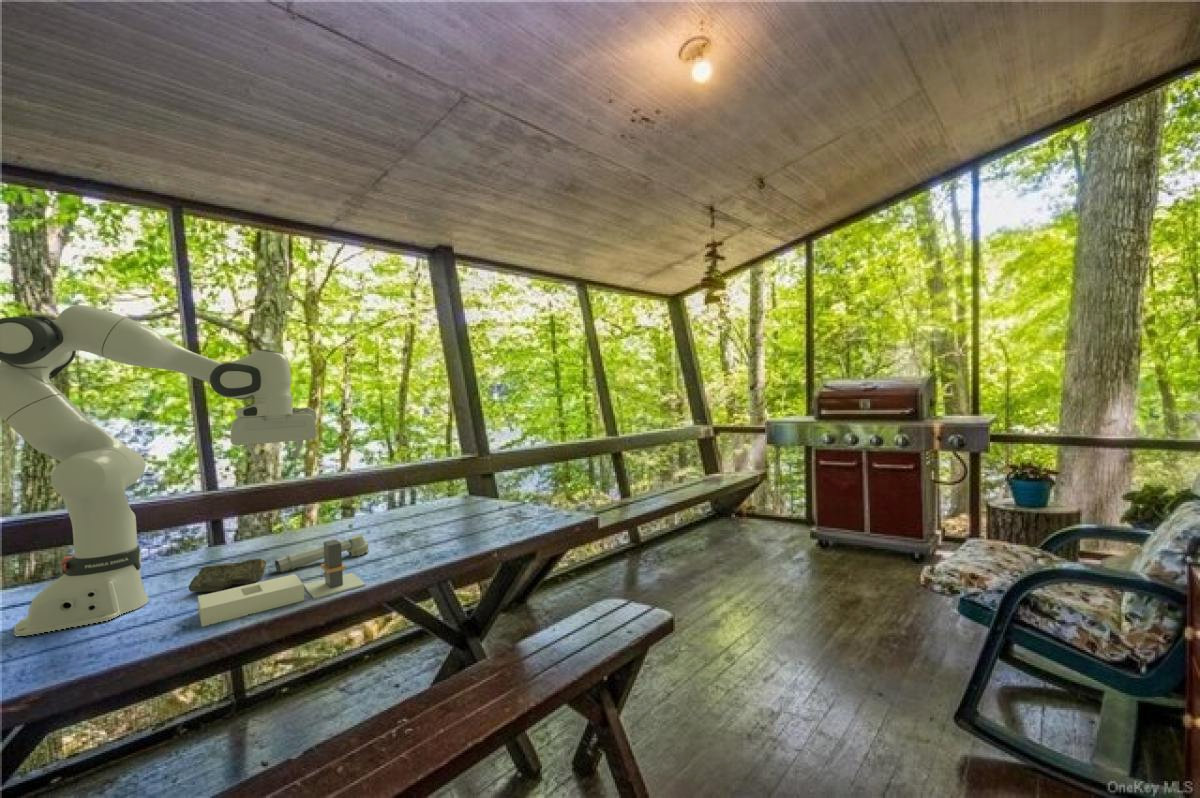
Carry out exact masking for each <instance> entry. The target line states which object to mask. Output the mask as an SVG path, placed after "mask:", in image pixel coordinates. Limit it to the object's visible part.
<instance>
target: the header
mask: <svg viewBox="0 0 1200 798" xmlns="http://www.w3.org/2000/svg"><path fill="white" fill-rule="evenodd" d="M304 584H305V583H303V581H301V580H300V577H299V576H297V575H296V574H295V573H294V574H290V575H286V576H285V575H284V576H281V577H276V578H272V579H267V580H263V581H262V580H261V581H260V582H259V581H257V582H255V583H248V584H244V585H240V586H237V587H232V588H227V589H224V590H219V591H213V592H211V593H207V594H201V595H197V605H198V607H197V608H198V617H199V621H200V625H201V627H202V628H203V627H207V626H210V624H211V625H215V624H219V623H222V621H223V622H226V621H230V620H234V619H239V618H241V617H245V616H249V615H248V614H250V615H253V614H256V613H260V612H264V611H269V610H271V609H277V608H280V607H284V606H287V605H292V604H295V603H300V602H303V601H305V587H304ZM252 613H253V614H252ZM218 622H219V623H218Z"/></svg>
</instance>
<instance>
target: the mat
mask: <svg viewBox="0 0 1200 798" xmlns="http://www.w3.org/2000/svg"><path fill="white" fill-rule="evenodd" d="M342 575H343V585H342V586H338V587H334V588H330V587H329V586H328V585H327V584H326V583H325V578H324V579H319V580H317V581H312V582H307V583H303V584H304V590H306V591H307V593H309V594H310V596H311V597H312V598H313V599H314V600H316V599H321V598H323V597H324V598H325V597H327V596H331V595H336V594H339V593H343V592H346V591H350V590H354V589H358V588H362V587H366V585H367V584H366V583H365V582H364V581H363V580H361V579H360V578H359V577H358V576H357V575H355V573H354V572H349V573H345V574H342Z"/></svg>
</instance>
